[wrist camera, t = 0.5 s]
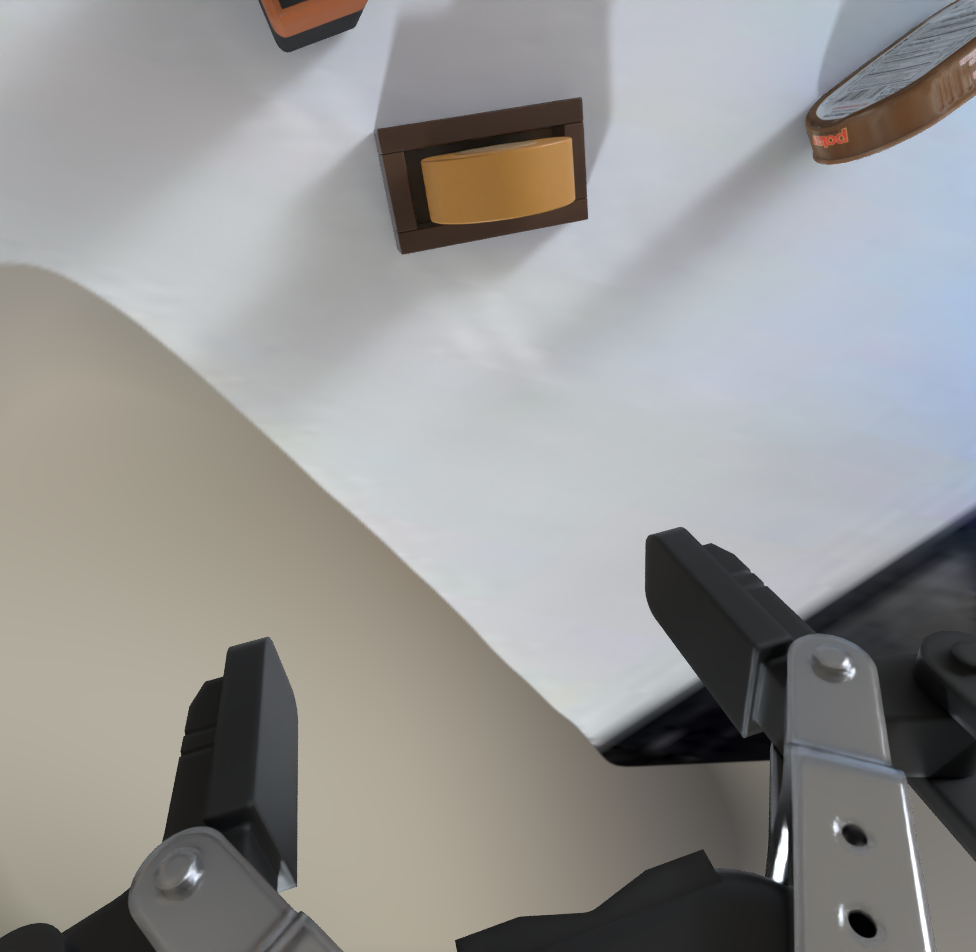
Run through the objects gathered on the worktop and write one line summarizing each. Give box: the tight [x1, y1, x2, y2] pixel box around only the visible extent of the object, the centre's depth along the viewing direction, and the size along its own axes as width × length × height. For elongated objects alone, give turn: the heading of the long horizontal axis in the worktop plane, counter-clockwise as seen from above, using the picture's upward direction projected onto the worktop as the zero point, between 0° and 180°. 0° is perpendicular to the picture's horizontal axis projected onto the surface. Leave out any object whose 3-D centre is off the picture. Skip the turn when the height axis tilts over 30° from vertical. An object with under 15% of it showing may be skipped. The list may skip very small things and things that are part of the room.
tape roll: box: [421, 137, 575, 224], centre depth 33 cm, size 3×8×8 cm, turn 98°
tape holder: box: [374, 97, 588, 254], centre depth 36 cm, size 6×12×2 cm, turn 98°
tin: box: [805, 0, 976, 165], centre depth 36 cm, size 15×3×8 cm, turn 123°
